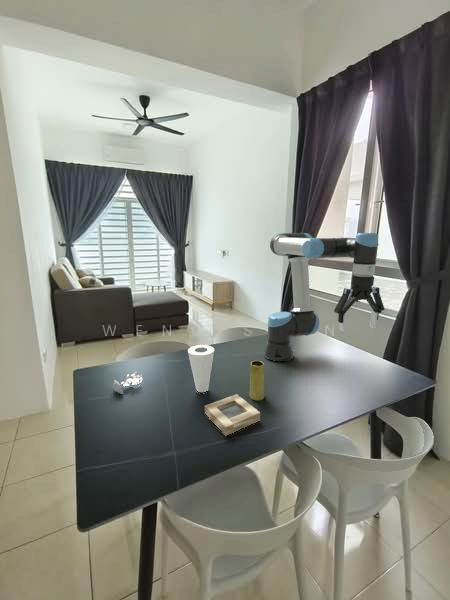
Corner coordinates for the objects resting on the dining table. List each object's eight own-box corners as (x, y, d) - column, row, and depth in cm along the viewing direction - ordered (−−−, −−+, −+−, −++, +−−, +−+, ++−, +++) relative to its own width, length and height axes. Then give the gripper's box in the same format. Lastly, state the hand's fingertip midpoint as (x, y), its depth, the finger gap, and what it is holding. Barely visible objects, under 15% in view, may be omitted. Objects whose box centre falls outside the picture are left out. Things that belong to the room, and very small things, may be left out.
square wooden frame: (204, 414, 102) (204, 405, 102) (236, 402, 110) (236, 394, 109) (225, 436, 91) (225, 427, 90) (260, 421, 98) (260, 412, 97)
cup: (195, 400, 111) (193, 357, 107) (185, 387, 121) (184, 347, 117) (219, 393, 116) (218, 351, 112) (208, 381, 125) (207, 343, 121)
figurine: (109, 379, 119) (136, 367, 126) (113, 392, 121) (140, 379, 127) (115, 387, 112) (143, 373, 118) (120, 401, 114) (147, 386, 120)
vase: (263, 401, 110) (264, 367, 107) (248, 399, 111) (248, 366, 108) (264, 393, 116) (265, 360, 113) (249, 391, 117) (250, 359, 114)
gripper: (339, 277, 100) (334, 334, 105) (399, 275, 105) (392, 329, 110) (327, 274, 107) (323, 328, 112) (384, 272, 112) (378, 323, 117)
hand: (357, 329), depth 111 cm, fingers open, 13 cm apart
